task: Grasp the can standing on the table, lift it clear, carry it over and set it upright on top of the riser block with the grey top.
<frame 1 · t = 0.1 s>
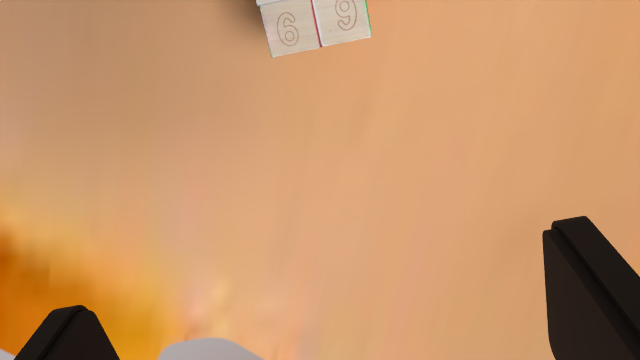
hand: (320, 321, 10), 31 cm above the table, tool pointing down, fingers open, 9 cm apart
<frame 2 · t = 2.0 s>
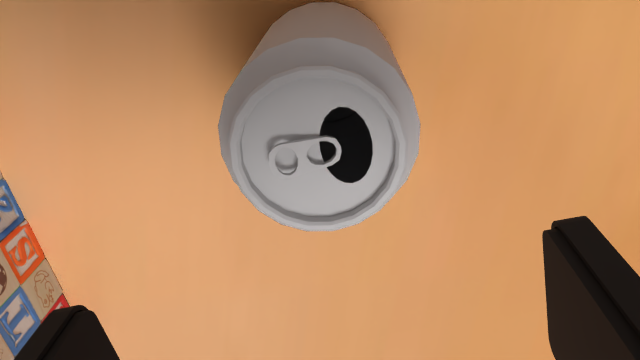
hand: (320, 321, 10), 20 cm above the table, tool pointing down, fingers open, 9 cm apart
can: (324, 69, 28), on the table
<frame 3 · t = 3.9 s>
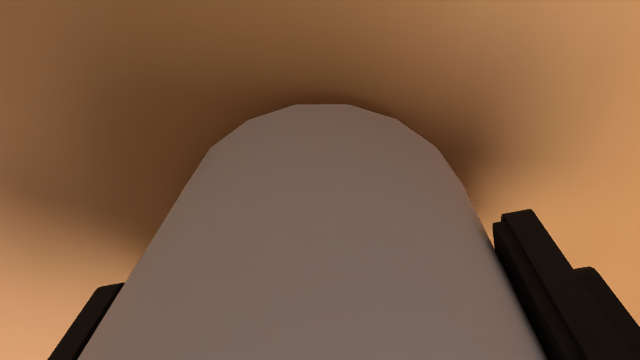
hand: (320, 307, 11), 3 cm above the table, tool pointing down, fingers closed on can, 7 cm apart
can: (325, 222, 14), on the table, touching gripper
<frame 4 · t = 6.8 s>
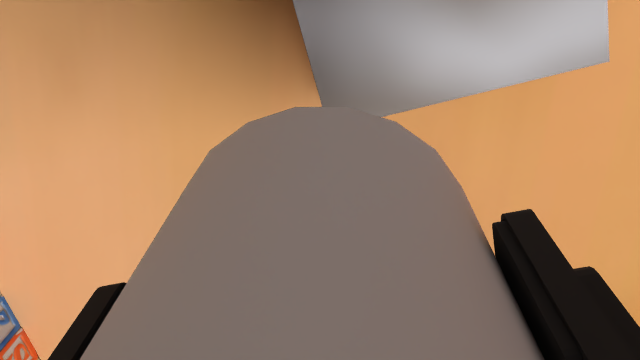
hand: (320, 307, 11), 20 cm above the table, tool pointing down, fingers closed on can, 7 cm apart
can: (324, 224, 14), point 16 cm above the table, touching gripper
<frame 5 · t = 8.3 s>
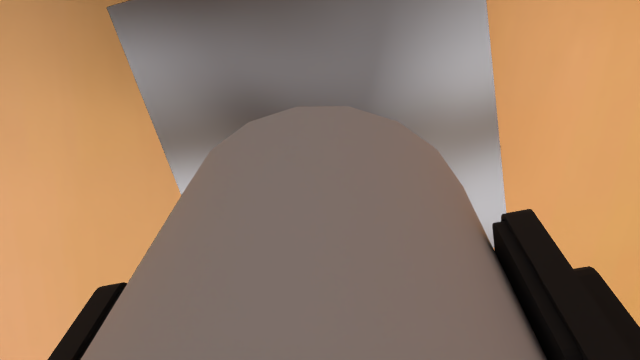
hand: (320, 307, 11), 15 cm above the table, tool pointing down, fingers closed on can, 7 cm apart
can: (325, 223, 14), point 12 cm above the table, touching gripper
riser: (328, 99, 24), on the table
when the fingers open (10 cm above the table, at t = 9.8 s): can drops 1 cm, resting on riser.
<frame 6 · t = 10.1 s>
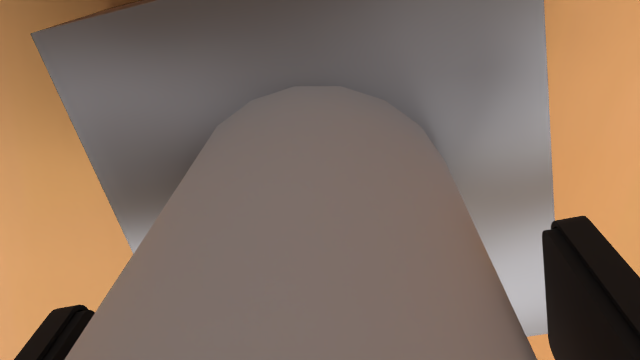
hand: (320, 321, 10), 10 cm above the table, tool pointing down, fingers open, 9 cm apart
can: (320, 197, 15), point 5 cm above the table, touching riser
riser: (330, 139, 20), on the table
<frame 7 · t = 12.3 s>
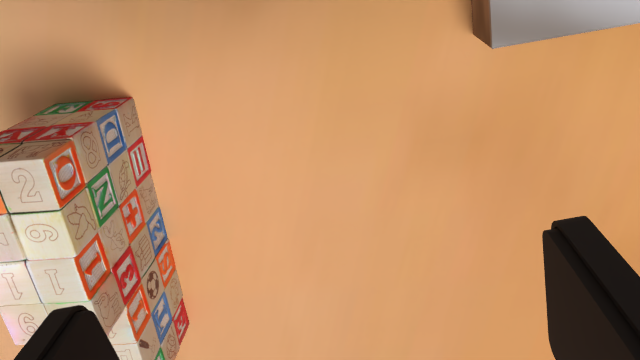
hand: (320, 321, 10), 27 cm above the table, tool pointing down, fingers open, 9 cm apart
stack of blocks: (130, 222, 42), on the table
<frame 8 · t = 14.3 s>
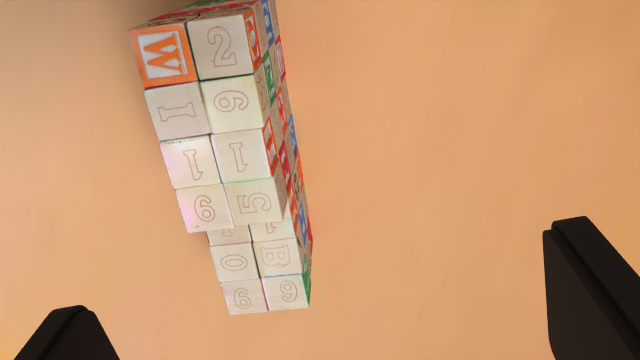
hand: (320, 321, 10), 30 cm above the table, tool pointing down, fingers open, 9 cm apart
stack of blocks: (258, 132, 41), on the table
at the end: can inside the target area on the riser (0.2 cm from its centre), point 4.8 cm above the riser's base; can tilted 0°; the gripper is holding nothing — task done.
